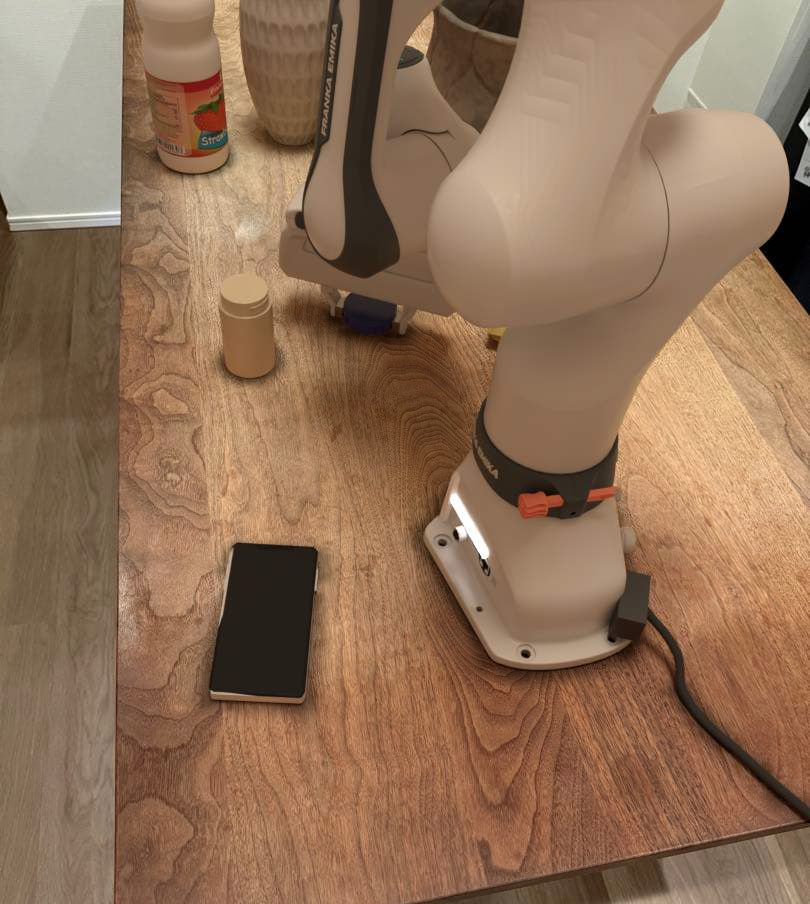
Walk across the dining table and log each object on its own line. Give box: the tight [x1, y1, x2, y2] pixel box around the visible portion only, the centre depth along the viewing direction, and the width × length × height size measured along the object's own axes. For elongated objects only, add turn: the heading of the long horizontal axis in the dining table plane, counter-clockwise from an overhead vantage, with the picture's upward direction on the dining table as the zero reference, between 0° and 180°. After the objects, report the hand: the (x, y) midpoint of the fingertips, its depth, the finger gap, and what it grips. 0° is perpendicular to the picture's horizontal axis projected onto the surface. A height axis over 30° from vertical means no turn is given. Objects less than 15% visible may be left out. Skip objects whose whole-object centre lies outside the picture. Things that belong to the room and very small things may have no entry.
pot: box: [425, 0, 524, 132], centre depth 114 cm, size 25×24×21 cm
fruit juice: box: [134, 0, 230, 174], centre depth 106 cm, size 9×9×28 cm
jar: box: [217, 272, 276, 379], centre depth 91 cm, size 5×5×10 cm
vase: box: [238, 0, 330, 147], centre depth 111 cm, size 13×13×28 cm
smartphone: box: [208, 542, 319, 704], centre depth 75 cm, size 8×1×15 cm
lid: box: [342, 292, 398, 337], centre depth 99 cm, size 6×6×2 cm
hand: (368, 321), depth 100 cm, fingers closed on lid, 6 cm apart
